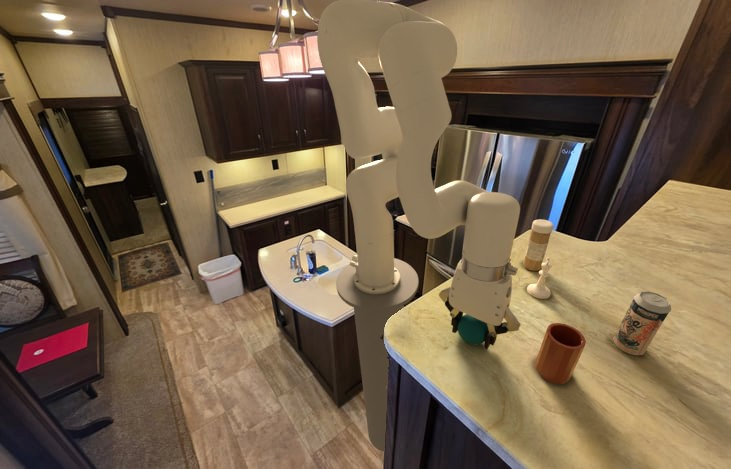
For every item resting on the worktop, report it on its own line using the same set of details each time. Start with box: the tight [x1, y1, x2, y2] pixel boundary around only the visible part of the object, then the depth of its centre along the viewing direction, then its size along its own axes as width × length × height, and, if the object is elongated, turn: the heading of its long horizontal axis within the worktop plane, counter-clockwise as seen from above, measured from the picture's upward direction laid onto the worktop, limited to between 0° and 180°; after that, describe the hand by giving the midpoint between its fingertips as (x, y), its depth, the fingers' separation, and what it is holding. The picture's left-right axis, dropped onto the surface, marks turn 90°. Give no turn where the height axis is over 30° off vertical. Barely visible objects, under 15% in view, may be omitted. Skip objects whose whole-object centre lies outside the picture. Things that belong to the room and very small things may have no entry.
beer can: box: [612, 290, 672, 356], centre depth 52 cm, size 5×5×12 cm
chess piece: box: [526, 256, 552, 300], centre depth 67 cm, size 5×5×10 cm
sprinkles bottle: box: [522, 218, 554, 272], centre depth 75 cm, size 5×5×13 cm
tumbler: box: [534, 322, 587, 385], centre depth 50 cm, size 5×5×9 cm
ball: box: [457, 314, 489, 346], centre depth 57 cm, size 6×6×6 cm
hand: (472, 335), depth 58 cm, fingers closed on ball, 5 cm apart
